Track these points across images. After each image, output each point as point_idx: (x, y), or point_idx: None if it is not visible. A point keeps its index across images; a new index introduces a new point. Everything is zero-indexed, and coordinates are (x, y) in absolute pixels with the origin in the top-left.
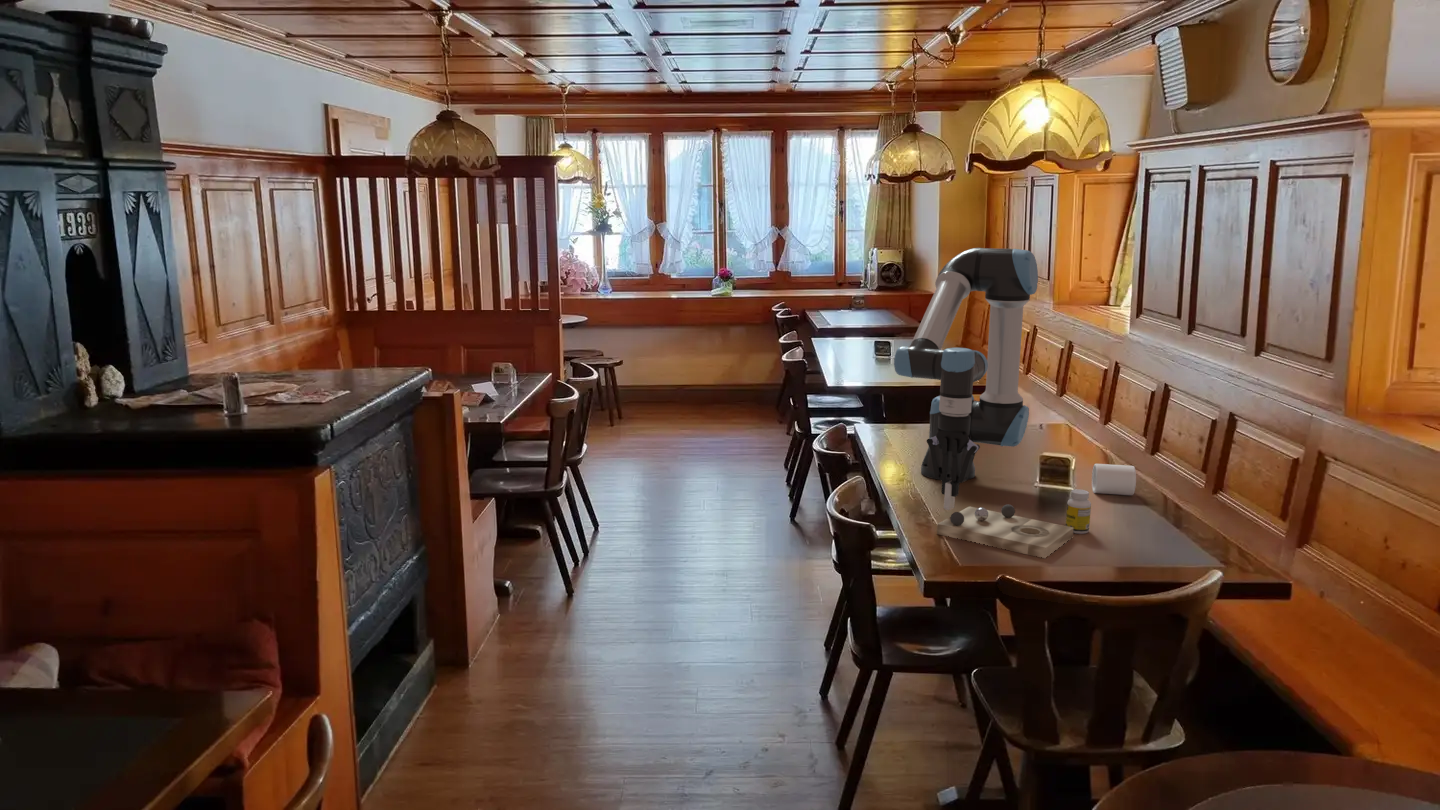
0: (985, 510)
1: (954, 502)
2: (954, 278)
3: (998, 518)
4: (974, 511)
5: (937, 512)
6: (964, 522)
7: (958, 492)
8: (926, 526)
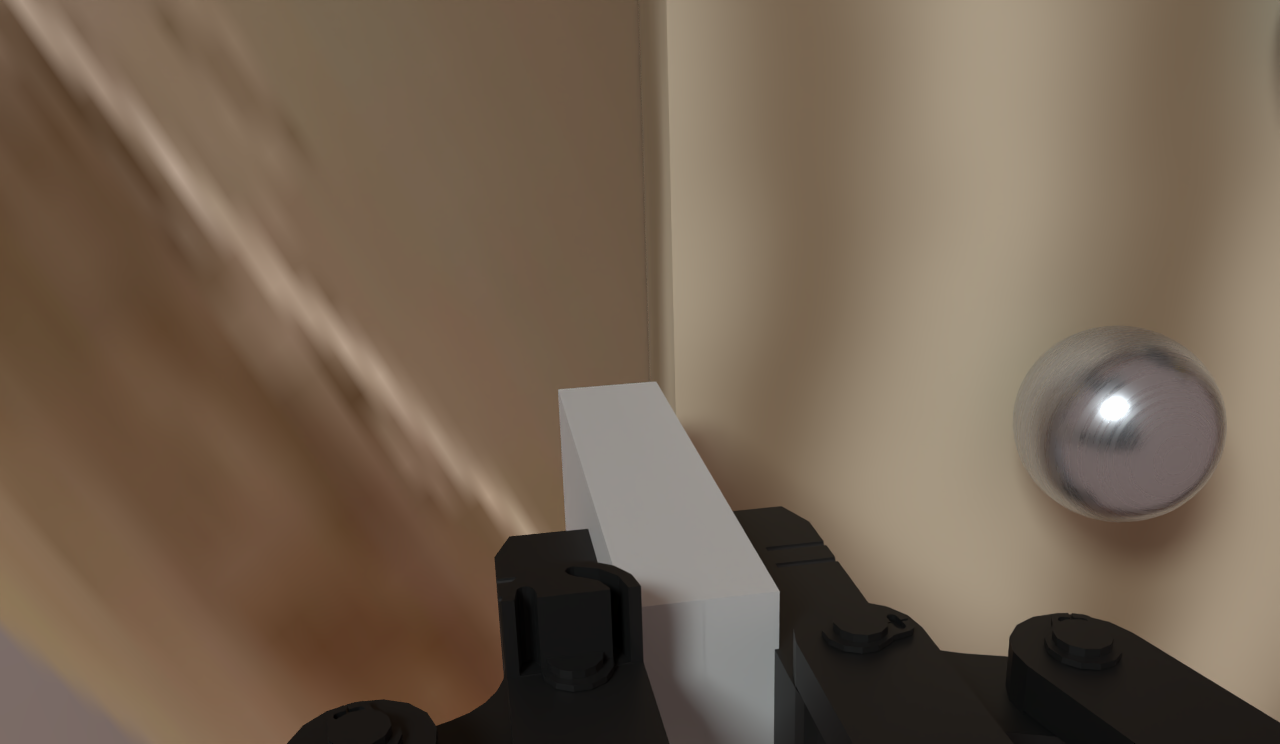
0: (1218, 456)
1: (672, 410)
2: None
3: (1227, 134)
4: (844, 56)
5: (185, 17)
6: (920, 600)
7: (817, 537)
8: (434, 651)
